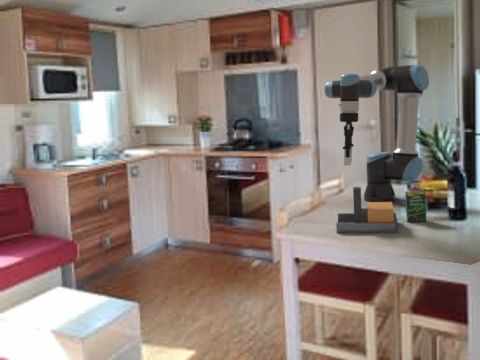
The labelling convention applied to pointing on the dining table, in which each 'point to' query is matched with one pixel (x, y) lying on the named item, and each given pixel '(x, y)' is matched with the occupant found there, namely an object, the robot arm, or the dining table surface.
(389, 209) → the grey and orange block
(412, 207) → the coffee box
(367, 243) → the dining table surface
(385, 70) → the robot arm
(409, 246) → the dining table surface
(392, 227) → the bay
